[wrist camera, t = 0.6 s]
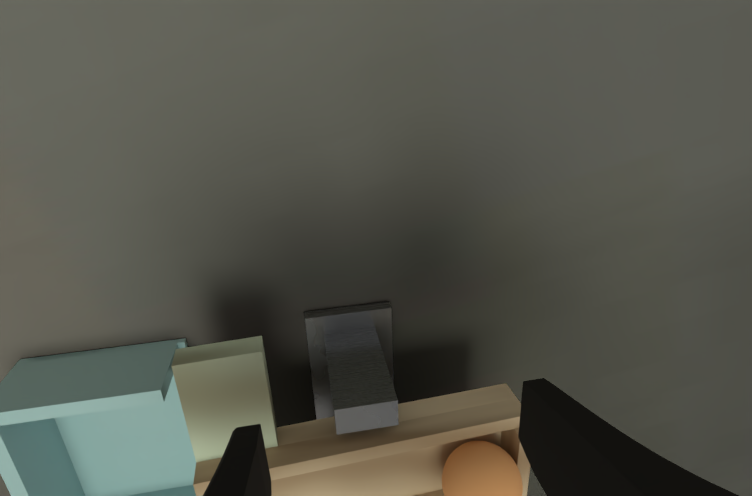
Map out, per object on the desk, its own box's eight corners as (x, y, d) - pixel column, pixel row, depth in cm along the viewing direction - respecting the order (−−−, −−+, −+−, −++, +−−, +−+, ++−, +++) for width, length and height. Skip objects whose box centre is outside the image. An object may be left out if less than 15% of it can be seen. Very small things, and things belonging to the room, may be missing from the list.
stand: (394, 462, 27) (419, 559, 22) (323, 474, 27) (332, 577, 21) (388, 301, 23) (418, 375, 18) (304, 311, 22) (309, 391, 17)
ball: (487, 468, 22) (536, 526, 19) (427, 495, 21) (469, 561, 18) (491, 414, 21) (544, 468, 18) (427, 439, 20) (473, 502, 17)
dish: (226, 483, 26) (218, 545, 22) (80, 507, 25) (50, 576, 21) (192, 337, 22) (176, 387, 19) (19, 359, 21) (-28, 416, 18)
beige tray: (498, 468, 23) (524, 514, 21) (221, 532, 21) (217, 591, 19) (513, 296, 20) (546, 329, 17) (175, 348, 17) (163, 395, 15)
